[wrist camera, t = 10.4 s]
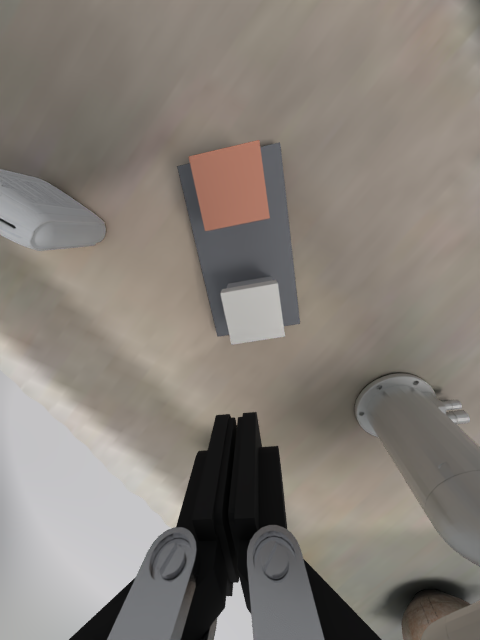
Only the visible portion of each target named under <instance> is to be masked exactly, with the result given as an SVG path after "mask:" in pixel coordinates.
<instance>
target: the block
mask: <svg viewBox="0 0 480 640" xmlns="http://www.w3.org/2000/svg"><path fill="white" fill-rule="evenodd" d="M260 149H261V156H262V164H263V171H264V179H265V186H266V194H267V201H268V209H269V216H270V218H269V219H266V220H261V221H256V222H251V223H246V224H241V225H236V226H231V227H226V228H221V229H216V230H211V231H205V228H204V224H203V219H202V215H201V210H200V206H199V201H198V197H197V192H196V188H195V183H194V179H193V174H192V170H191V165H190V163H189V164H185V165H180V166H177V168H178V172H179V176H180V180H181V185H182V189H183V193H184V197H185V201H186V206H187V210H188V214H189V218H190V222H191V227H192V231H193V235H194V239H195V244H196V248H197V252H198V256H199V260H200V265H201V269H202V273H203V277H204V281H205V286H206V290H207V294H208V298H209V303H210V307H211V311H212V315H213V319H214V324H215V328H216V332H217V336H224V335H229V331H228V326H227V322H226V317H225V313H224V308H223V303H222V299H221V294H220V293H221V291H222V289H226V288H232V287H237V286H243V285H249V284H254V283H260V282H266V281H272V280H276V281H277V283H278V288H279V296H280V303H281V310H282V318H283V325H284V326H288V325H295V324H300V319H299V310H298V301H297V292H296V283H295V273H294V264H293V255H292V246H291V237H290V228H289V219H288V210H287V201H286V192H285V183H284V174H283V165H282V156H281V147H280V143H276V144H271V145H267V146H263V147H260Z"/></svg>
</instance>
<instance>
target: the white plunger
mask: <svg viewBox="0 0 480 640" xmlns="http://www.w3.org/2000/svg"><path fill="white" fill-rule="evenodd" d="M220 294H221V299H222V303H223V308H224V313H225V317H226V322H227V326H228V331H229V335H230V340H231V345H233V344H239V343H246V342H253V341H259V340H266V339H272V338H279V337H285V332H284V325H283V318H282V310H281V303H280V296H279V288H278V283H277V281H276V280H272V281H266V282H260V283H254V284H249V285H243V286H237V287H232V288H226V289H222V291H221V293H220Z"/></svg>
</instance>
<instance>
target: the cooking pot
mask: <svg viewBox="0 0 480 640" xmlns="http://www.w3.org/2000/svg"><path fill="white" fill-rule="evenodd" d="M469 605H471V604H469V603H468V602H466V601H464V600H462V599H460V598H457V597H455V596H452V595H449V594H446V593H443V592H441V591H439V590H435V589H427V590H423V591H420V592H418V593H417V594H416V595H415V597H414V599H413V600H412V601H411V602H410V604H409V605H408V607H407V608H406V610H405V612H404V614H403V618H402V634H403V639H404V640H421V638H422V635H423V633H424V631H425V629H426V628H427V627H428V626H429V625H430V624H431V623H433V622H435V621H436V620H438V619H440V618H442V617H444V616H446V615H449V614H450V613H452V612H455V611H457V610H459V609H462V608H464V607H466V606H469Z"/></svg>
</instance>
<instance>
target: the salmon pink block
mask: <svg viewBox="0 0 480 640" xmlns="http://www.w3.org/2000/svg"><path fill="white" fill-rule="evenodd" d="M189 161H190V165H191V170H192V174H193V179H194V183H195V188H196V192H197V197H198V201H199V206H200V210H201V215H202V219H203V224H204V228H205V231H211V230H216V229H221V228H226V227H231V226H236V225H241V224H246V223H251V222H256V221H261V220H266V219H269V218H270V216H269V209H268V201H267V194H266V186H265V179H264V171H263V164H262V156H261V149H260V142H259V140H257V141H253V142H248V143H244V144H240V145H236V146H231V147H227V148H223V149H218V150H214V151H210V152H206V153H201V154H197V155H193V156H189Z"/></svg>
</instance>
